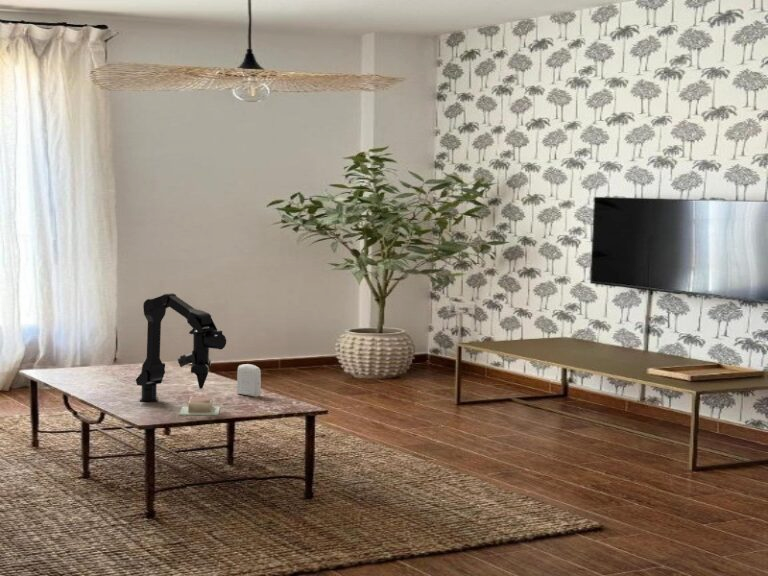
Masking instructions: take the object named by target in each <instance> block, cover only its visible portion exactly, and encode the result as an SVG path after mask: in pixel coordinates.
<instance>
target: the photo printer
mask: <svg viewBox="0 0 768 576" xmlns="http://www.w3.org/2000/svg"><path fill="white" fill-rule="evenodd" d="M261 375H262V372H261V368H260V367H258V366H256V365H255V364H250V363H246V364H244V363H243V364H239V365H238V366H237V378H236V379H237V381H236V382H237V383H236V384H237V385H236V393H237V394H239V395H245V396H251V397H254V398H257V397H259V396H261V385H262V384H261V379H262V376H261Z"/></svg>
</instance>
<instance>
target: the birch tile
mask: <svg viewBox="0 0 768 576" xmlns="http://www.w3.org/2000/svg"><path fill="white" fill-rule="evenodd" d="M187 405H188V406H187V407H188V412H205V413H210V412H211V409H212V407H213V396H191V397H190V398H189V401H188V404H187Z"/></svg>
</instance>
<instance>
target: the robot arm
mask: <svg viewBox="0 0 768 576" xmlns="http://www.w3.org/2000/svg"><path fill="white" fill-rule="evenodd" d="M169 308H171V309H172V310H173V311H175V312H176V313H177V314H179V315H181V316H182V317H184V318H185V319H186V321H187V324H188V326H190V327H191V328H192V329H191V330H190V331H189V332H188V334H190V335H193V340H192V341H193V342H192V343H193V345H192V346H193V347H192V351H191V352H190V353H188V354H182V355H180V356H179V357H177V361H178V365H179V367H180V368H183V367H185V366H187V365H190V364H191V367H190V373H191V374H194V375H196V379H197V383H198V388H199V389H200V390H201V389H203V388H204V385H205V382H206V380H207V377H208V375H209V372H210V368H209V367H211V365H212V363H211V361H212V360H211V359H210V349H214V350H223V349H224V348H225V346H227V338H226V336H225V335H224V334H223V330H218V328H217V326H216V324H215V322H214V321H213V317H212V315H211V314H210V313H209V312H206V311H204V310H201V309H196V308H194V306H191V305H190V304H189V303H187V302H185V301H184V300H182V299H181V298H180V297H178V296H177V295H176V294H175V293H173V292H172V293H164V294H162V295H160V296H157V297H154V298H148V299H146V300H145V301H144V302H143V315H144V317H145V318H146V319H145V320H146V321H147V333H146V336H147V340H146V359H145V360H144V362H143V363H142V367H141V372H140V374H139V375H138V376H137V378H136V379H135V381H136V382H135V383H136V385H137V386H141V396H140V399H139V402H158V399H159V397H158V395H157V393H158V392H157V387H158V386H157V385H159V384H160V385H161V384H162V383H163V382H162V381H163V379H164V377H165V376H164V375H165V374H166V363H163V361H162V360H161V358H160V356H161V334H162V333H161V332H162V331H161V329H162V321H163V319H164V317H165V316H166V312H167V309H169Z"/></svg>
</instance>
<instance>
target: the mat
mask: <svg viewBox="0 0 768 576" xmlns="http://www.w3.org/2000/svg"><path fill="white" fill-rule="evenodd" d="M220 411H221V406H212V409H211V412H210V413H205V412H188V406H182V407H181V409H180V412H179V416H219V413H220Z"/></svg>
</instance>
